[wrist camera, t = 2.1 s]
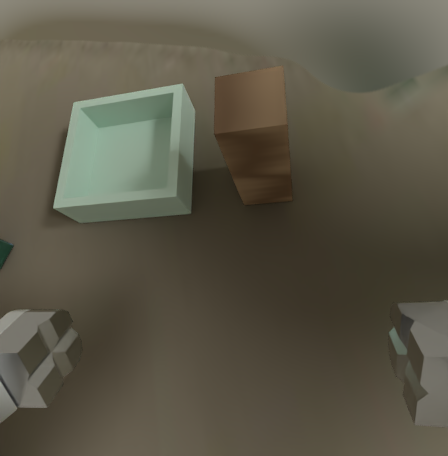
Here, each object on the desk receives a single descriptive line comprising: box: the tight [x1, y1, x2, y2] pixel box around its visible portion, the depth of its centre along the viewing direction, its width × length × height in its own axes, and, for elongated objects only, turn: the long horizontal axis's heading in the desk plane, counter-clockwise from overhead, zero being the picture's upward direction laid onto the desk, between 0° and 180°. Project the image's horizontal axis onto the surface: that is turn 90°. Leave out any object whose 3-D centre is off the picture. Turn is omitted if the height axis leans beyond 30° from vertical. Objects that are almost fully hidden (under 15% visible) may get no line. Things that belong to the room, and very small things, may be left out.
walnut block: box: [214, 66, 293, 205], centre depth 23 cm, size 4×4×10 cm
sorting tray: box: [53, 84, 195, 223], centre depth 29 cm, size 11×11×4 cm
